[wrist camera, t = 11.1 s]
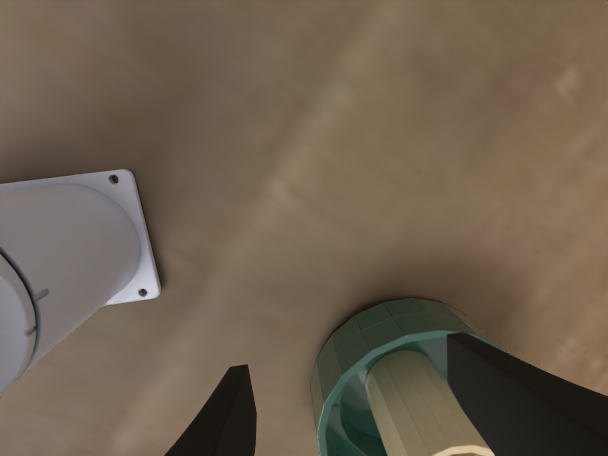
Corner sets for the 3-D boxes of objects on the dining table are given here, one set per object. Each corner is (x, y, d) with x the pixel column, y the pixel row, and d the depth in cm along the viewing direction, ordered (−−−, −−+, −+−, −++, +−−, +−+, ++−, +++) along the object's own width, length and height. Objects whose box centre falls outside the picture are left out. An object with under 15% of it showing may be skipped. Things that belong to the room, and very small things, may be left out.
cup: (364, 417, 23) (403, 538, 16) (365, 353, 22) (407, 451, 15) (435, 410, 24) (505, 525, 16) (439, 346, 22) (517, 440, 15)
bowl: (320, 463, 24) (329, 530, 20) (300, 309, 21) (305, 350, 17) (484, 436, 25) (527, 496, 21) (487, 283, 22) (538, 315, 18)
